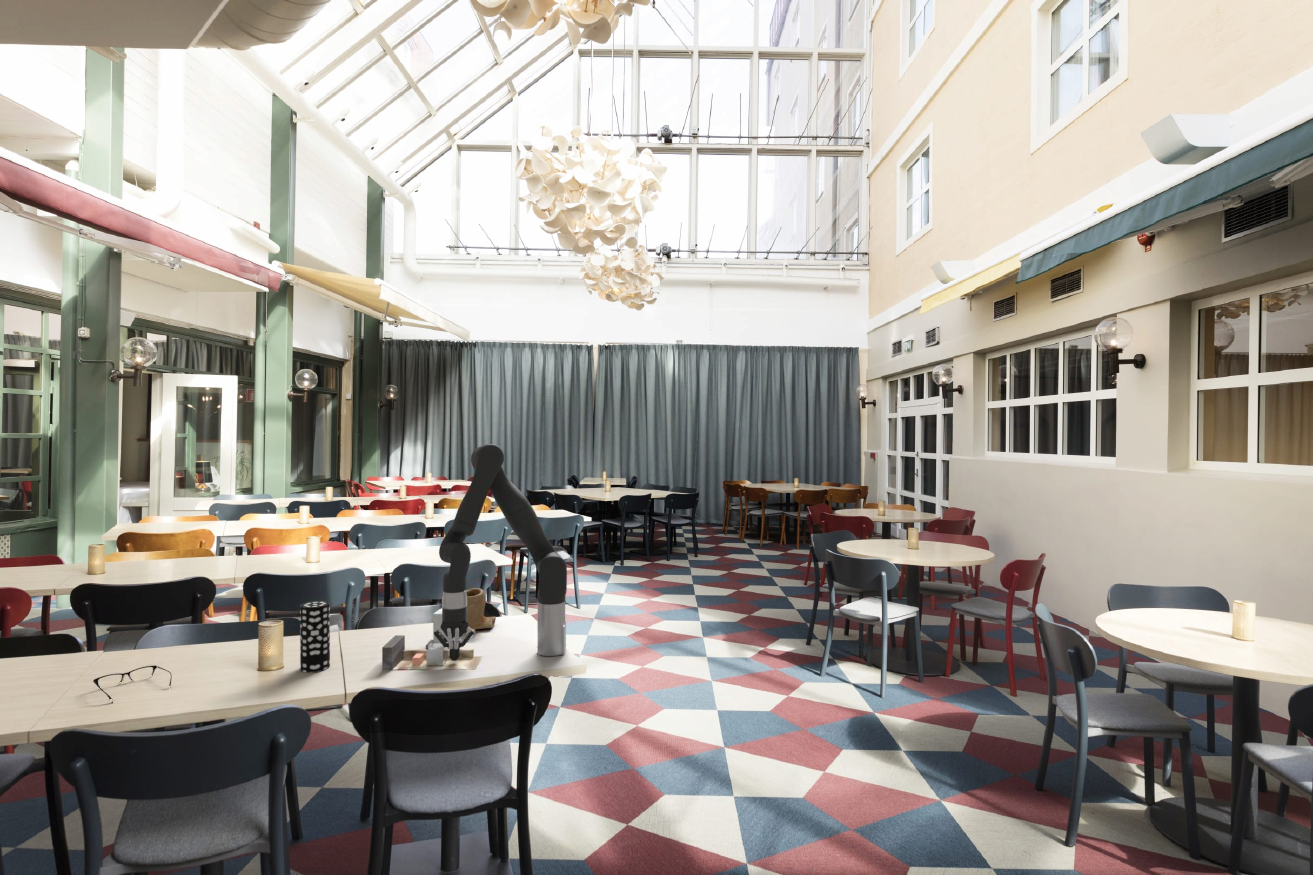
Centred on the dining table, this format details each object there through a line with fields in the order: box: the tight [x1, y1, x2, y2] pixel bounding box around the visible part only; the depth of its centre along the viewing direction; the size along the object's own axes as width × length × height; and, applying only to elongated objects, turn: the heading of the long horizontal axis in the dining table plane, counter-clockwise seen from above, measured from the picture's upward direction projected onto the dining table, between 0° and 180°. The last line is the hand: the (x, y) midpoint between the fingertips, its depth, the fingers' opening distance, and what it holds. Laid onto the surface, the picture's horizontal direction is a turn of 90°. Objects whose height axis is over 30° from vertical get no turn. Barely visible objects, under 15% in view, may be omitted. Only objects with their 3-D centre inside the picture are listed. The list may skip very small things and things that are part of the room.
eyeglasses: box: [92, 664, 173, 700], centre depth 199 cm, size 16×16×4 cm
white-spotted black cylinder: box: [299, 600, 331, 674], centre depth 217 cm, size 8×8×20 cm
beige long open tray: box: [381, 634, 484, 672], centre depth 218 cm, size 28×12×8 cm, turn 93°
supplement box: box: [432, 607, 462, 643], centre depth 238 cm, size 7×7×13 cm
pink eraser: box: [412, 654, 424, 666], centre depth 217 cm, size 2×4×2 cm, turn 3°
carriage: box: [425, 639, 449, 666], centre depth 218 cm, size 5×6×6 cm
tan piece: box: [466, 587, 497, 631], centre depth 259 cm, size 15×12×15 cm
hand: (454, 659), depth 218 cm, fingers closed
